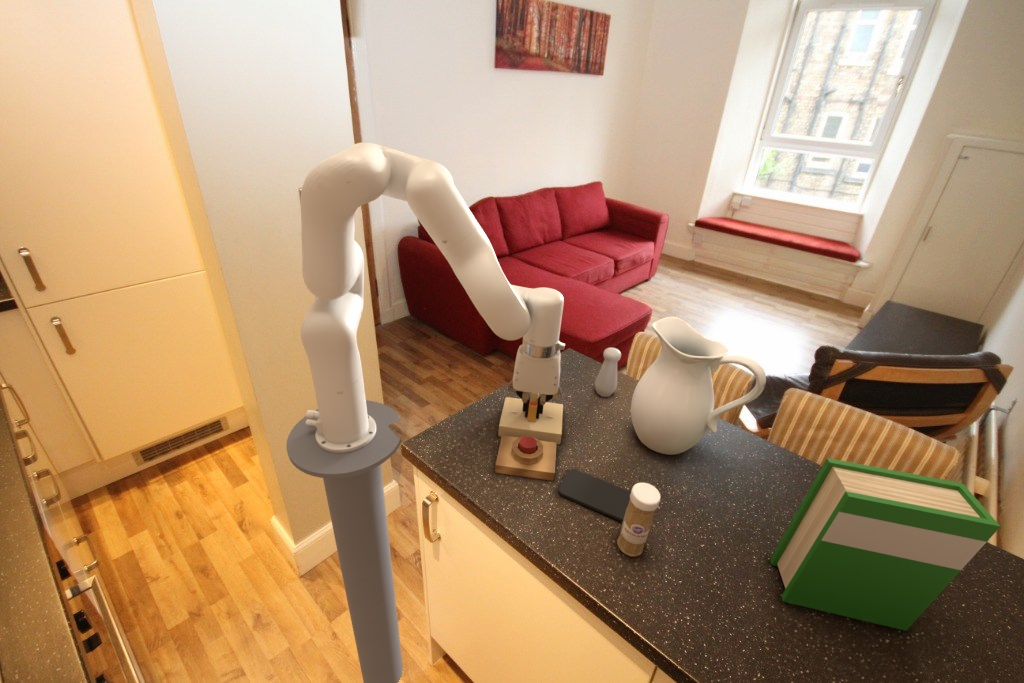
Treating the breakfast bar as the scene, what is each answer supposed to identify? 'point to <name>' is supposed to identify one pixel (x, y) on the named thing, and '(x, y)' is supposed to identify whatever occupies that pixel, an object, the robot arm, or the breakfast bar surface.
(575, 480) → the phone
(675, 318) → the pitcher
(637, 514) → the sprinkles bottle
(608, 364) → the salt shaker
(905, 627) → the hardback book
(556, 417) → the dial plate
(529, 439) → the bell button
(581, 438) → the breakfast bar surface
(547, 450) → the wooden button base
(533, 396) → the red-tipped yellow block
